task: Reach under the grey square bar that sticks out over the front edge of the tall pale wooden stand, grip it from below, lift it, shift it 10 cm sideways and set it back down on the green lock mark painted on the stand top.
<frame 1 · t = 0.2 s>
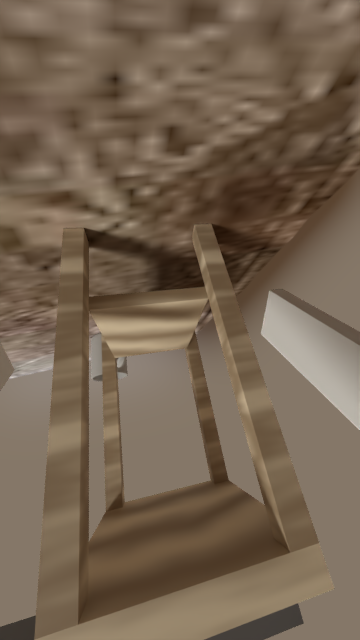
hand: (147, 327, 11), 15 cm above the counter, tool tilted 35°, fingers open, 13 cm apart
stand: (144, 281, 33), on the counter
grey square bar: (100, 608, 14), point 30 cm above the counter, touching stand
cup: (111, 334, 48), on the counter
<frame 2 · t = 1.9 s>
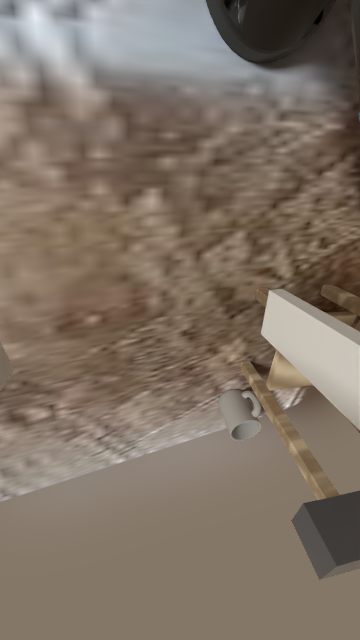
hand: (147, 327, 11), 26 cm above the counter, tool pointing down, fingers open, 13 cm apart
stand: (282, 330, 47), on the counter
cup: (234, 394, 55), on the counter
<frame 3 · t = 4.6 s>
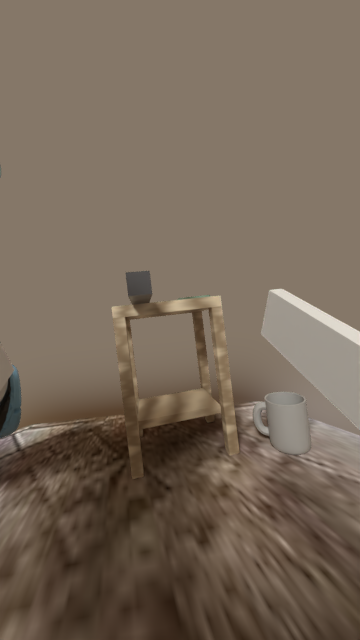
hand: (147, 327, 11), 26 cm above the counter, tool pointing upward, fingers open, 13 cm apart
stand: (180, 442, 47), on the counter
grey square bar: (140, 304, 40), point 30 cm above the counter, touching stand
cup: (282, 444, 42), on the counter
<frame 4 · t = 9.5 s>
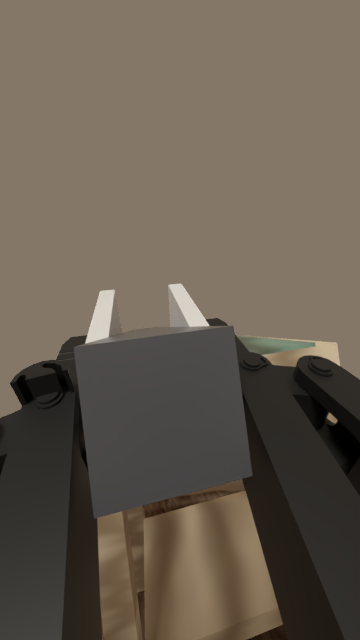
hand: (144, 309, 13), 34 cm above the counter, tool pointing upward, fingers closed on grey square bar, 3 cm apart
stand: (229, 628, 23), on the counter
grey square bar: (150, 367, 17), point 30 cm above the counter, touching gripper, stand
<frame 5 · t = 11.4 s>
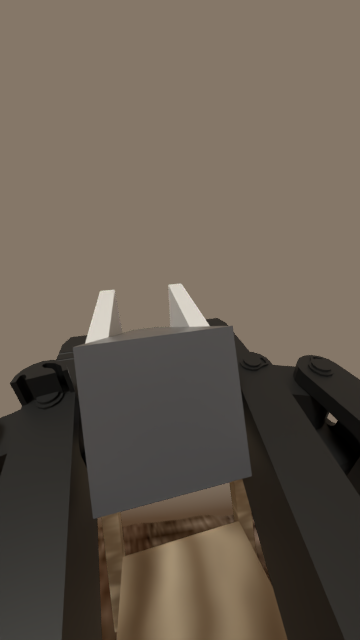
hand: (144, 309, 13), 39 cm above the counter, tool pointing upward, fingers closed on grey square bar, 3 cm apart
grey square bar: (150, 367, 17), point 34 cm above the counter, touching gripper
when the fingers open (36 cm above the counter, at t = 13.6 s): grey square bar drops 1 cm, resting on stand.
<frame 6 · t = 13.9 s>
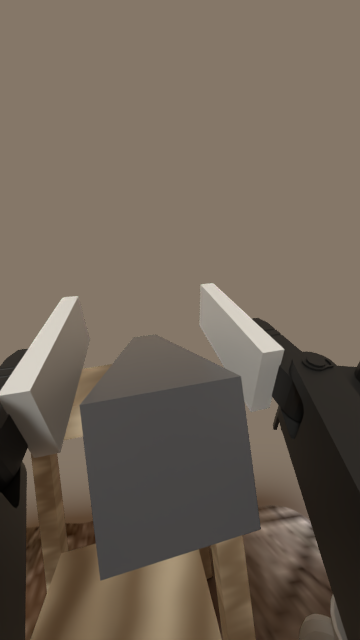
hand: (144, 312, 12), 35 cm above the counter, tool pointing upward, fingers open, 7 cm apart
grey square bar: (152, 380, 17), point 30 cm above the counter, touching stand
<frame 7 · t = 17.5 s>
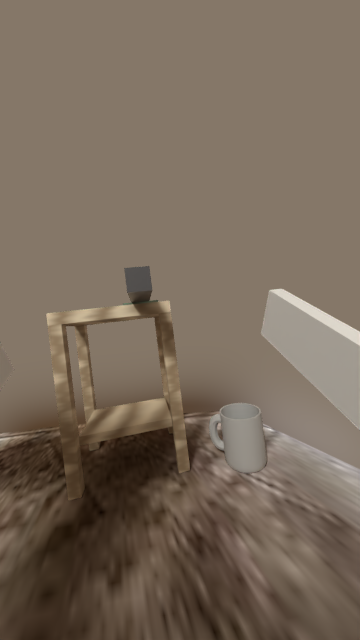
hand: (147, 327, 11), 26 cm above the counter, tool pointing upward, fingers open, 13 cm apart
stand: (134, 456, 44), on the counter
grey square bar: (140, 303, 39), point 30 cm above the counter, touching stand
cup: (238, 459, 39), on the counter
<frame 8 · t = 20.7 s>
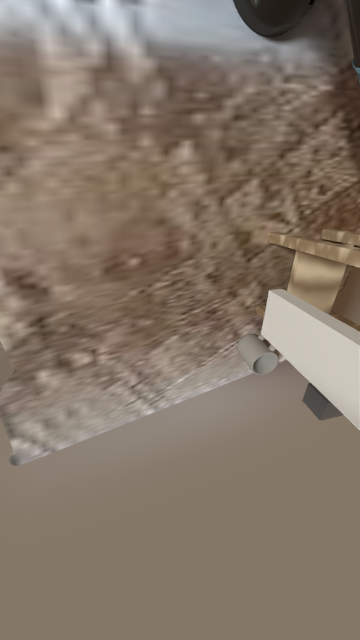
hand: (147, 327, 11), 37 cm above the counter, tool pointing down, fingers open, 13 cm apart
stand: (291, 273, 54), on the counter
cup: (250, 340, 62), on the counter
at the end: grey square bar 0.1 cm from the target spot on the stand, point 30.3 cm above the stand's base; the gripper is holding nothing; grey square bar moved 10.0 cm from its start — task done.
